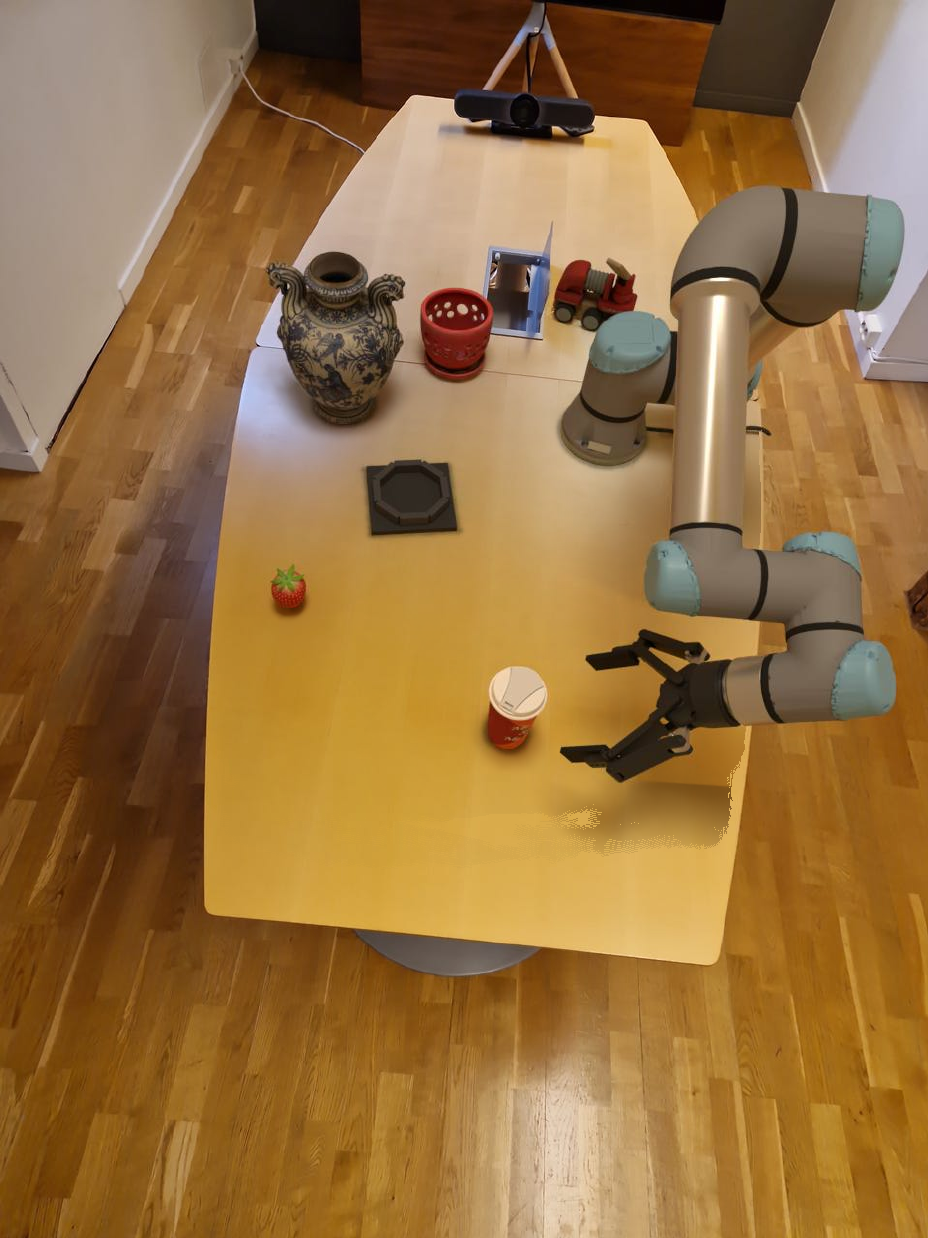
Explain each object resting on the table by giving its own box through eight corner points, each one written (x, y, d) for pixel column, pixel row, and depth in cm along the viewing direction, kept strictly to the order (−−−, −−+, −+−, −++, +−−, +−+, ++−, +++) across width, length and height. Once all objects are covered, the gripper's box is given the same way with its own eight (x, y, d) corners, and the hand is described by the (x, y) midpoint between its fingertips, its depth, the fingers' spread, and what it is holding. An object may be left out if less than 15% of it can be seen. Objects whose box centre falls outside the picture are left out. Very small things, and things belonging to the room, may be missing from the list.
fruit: (310, 615, 124) (305, 587, 117) (275, 619, 123) (268, 591, 116) (307, 586, 127) (302, 556, 120) (273, 590, 126) (266, 560, 119)
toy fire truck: (560, 294, 167) (576, 213, 152) (632, 316, 166) (656, 236, 150) (543, 328, 162) (559, 248, 147) (618, 351, 160) (642, 272, 145)
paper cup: (516, 766, 114) (530, 727, 102) (469, 738, 116) (478, 696, 104) (543, 724, 118) (560, 680, 106) (497, 697, 119) (509, 651, 107)
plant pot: (500, 356, 157) (507, 303, 146) (463, 395, 150) (468, 343, 140) (443, 328, 159) (446, 274, 149) (405, 365, 153) (405, 312, 143)
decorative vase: (406, 371, 153) (409, 234, 129) (399, 445, 143) (401, 312, 119) (292, 362, 152) (273, 222, 128) (277, 436, 142) (253, 300, 118)
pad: (447, 466, 141) (448, 454, 139) (456, 530, 134) (458, 519, 132) (366, 469, 140) (365, 457, 137) (371, 535, 133) (371, 524, 130)
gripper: (737, 812, 85) (572, 811, 99) (764, 620, 98) (615, 643, 112) (703, 779, 81) (536, 782, 95) (737, 583, 94) (585, 612, 108)
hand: (578, 707), depth 104 cm, fingers open, 13 cm apart
